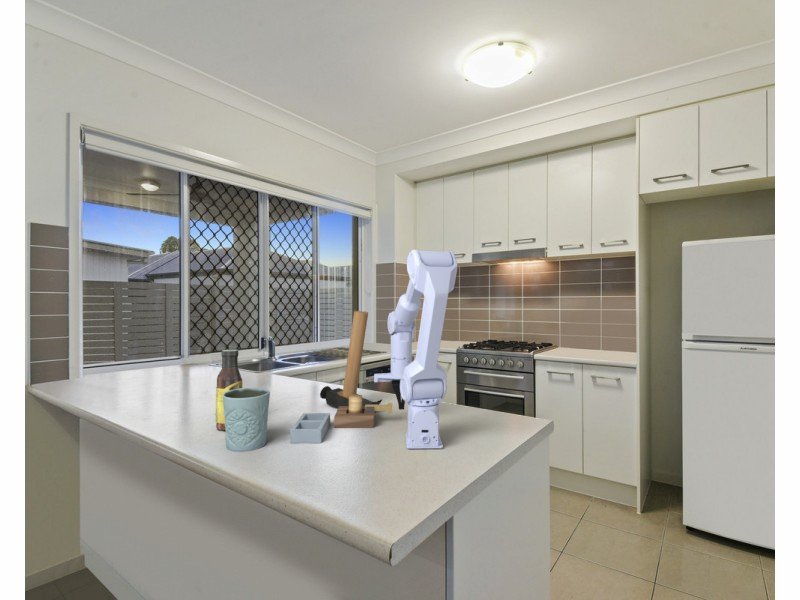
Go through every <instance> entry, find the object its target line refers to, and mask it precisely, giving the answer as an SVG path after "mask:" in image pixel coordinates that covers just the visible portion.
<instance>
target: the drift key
mask: <svg viewBox="0 0 800 600" xmlns="http://www.w3.org/2000/svg"><path fill="white" fill-rule="evenodd" d="M365 408H374V411H375V412H387V413H388V414H392V413H393V402H387V404H379V405H365Z"/></svg>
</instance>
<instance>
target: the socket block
mask: <svg viewBox="0 0 800 600" xmlns="http://www.w3.org/2000/svg"><path fill="white" fill-rule="evenodd" d="M366 405H375V404H366ZM375 420H376V411H374V408H365V406H362V413H349V406H339V408H337V410H336V412H335V414H334V416H333V422H334V423H333V428H334V429H374V426H375Z"/></svg>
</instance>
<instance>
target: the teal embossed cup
mask: <svg viewBox="0 0 800 600" xmlns="http://www.w3.org/2000/svg"><path fill="white" fill-rule="evenodd" d="M222 396H223V409H224V416H225V430H224V432H225V436H224V437H225V438H224V441H225V449H227V450H228V451H230V452H234V453H236V452H237V453H238V452H239V453H240V452H241V453H242V452H244V453H245V452H251V451H255V450H258V449H261V448H263V447H265V445H266V444H267V438H268V437H267V436H268V435H267V433H268V432H267V430H268V419H269V417H268V416H269V406H270V396H271V390H270V389H268V388H264V387H242V388H240V389H234V390H230V391H227V392H225V393H224V394H223V395H222Z"/></svg>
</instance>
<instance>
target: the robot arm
mask: <svg viewBox="0 0 800 600" xmlns="http://www.w3.org/2000/svg"><path fill="white" fill-rule="evenodd" d="M406 259H407V260H406V270H407V274H408V277H409V280H408V284H407V288H406V292H405V293H403V294H402V295H400V297H399V299H398V302H397V305H396V306H395V307H396V308H395V310H393V311H391V312H389V314H388V316H387V322H386V323H387V330H388V334H389V335H390V372H387V373H386V372H384V373H383V372H382V373H374V374H373V375H374V376H373V378H374V379H373V382H374V383H380V382H381V383H382V382H383V383H385V382H389V383H391V387H392V390H393V392H394V394H395V397H396V400H397V404H398V410H402V411H403V410H405V404H406V403H407V432H405V443H406V449H410V450H411V449H418V450H419V449H444V445H443V442H442V439H441V436H440V433H439V431H440V427H439V426H440V425H439V424H440V421H439V420H440V413H439V410H440V406H439V405H440V404H442V400H443V399H445V396H446V394H447V393H448V392H447V390H448V384H447V377H448V376H447V372H446V370H445V369H444V367H443V366H442V365H440V364H439V363H438V359H439V353H440V347H441V341H442V336H443V330H444V322H445V317H446V316H445V315H446V312H447V304H448V299H449V294H450V293H451V292H452V291H453V290H454V288H455V285H456V284H455V283H456V279H457V272H458V262H457V258H456V255H455V254H454V252H453V251H452V250H420V249H414V248H413V249H412V250H410V251H409V254H408V256H407V258H406ZM422 295H423V304H422V302H421V301H422V300H420V299H421V297H422ZM421 307H422V311H421V316H420V317H421V319H420V326H419V332H418V338H417V346H416V352H415V358H414V360H413V341H414V339H415V338H414V337H415V330H416V318H417V317H418V314H419V312H420V309H421Z"/></svg>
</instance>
